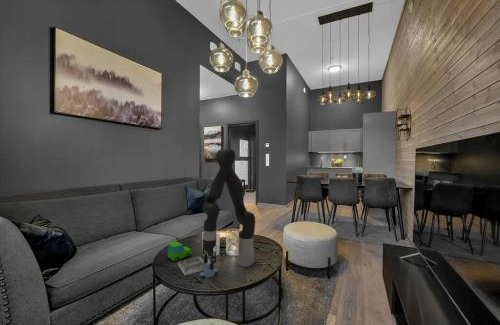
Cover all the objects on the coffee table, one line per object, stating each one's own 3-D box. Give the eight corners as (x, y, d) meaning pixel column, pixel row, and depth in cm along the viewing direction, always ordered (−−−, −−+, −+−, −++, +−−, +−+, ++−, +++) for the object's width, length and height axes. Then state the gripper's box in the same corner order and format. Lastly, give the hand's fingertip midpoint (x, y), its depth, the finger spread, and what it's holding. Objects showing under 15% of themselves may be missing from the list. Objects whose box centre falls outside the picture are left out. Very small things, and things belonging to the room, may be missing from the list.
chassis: (199, 259, 141) (199, 254, 141) (207, 268, 129) (207, 263, 129) (177, 265, 133) (178, 259, 133) (184, 275, 121) (184, 269, 121)
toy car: (192, 256, 145) (193, 242, 145) (174, 263, 135) (174, 247, 135) (184, 252, 152) (185, 238, 152) (166, 258, 142) (167, 243, 142)
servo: (216, 271, 126) (216, 262, 126) (218, 274, 123) (218, 264, 123) (199, 276, 121) (199, 266, 121) (202, 279, 118) (202, 269, 118)
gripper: (221, 240, 118) (219, 270, 118) (210, 233, 130) (209, 259, 130) (208, 243, 114) (207, 273, 114) (198, 235, 126) (197, 262, 126)
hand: (208, 266), depth 122 cm, fingers open, 8 cm apart
